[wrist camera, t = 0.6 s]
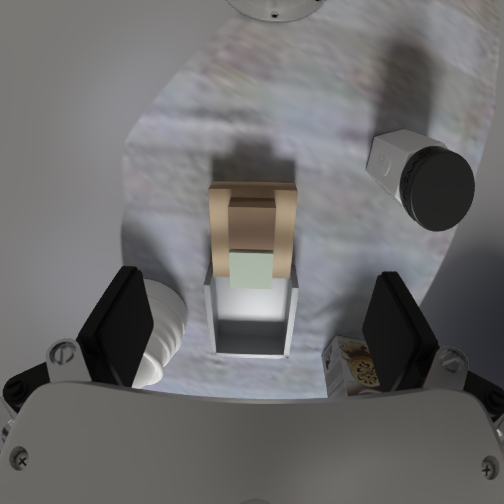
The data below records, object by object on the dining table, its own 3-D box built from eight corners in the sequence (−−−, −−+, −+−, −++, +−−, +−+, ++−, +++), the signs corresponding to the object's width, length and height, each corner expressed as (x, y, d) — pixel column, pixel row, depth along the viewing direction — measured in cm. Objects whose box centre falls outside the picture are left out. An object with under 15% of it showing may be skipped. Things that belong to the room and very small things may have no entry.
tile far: (231, 239, 36) (229, 252, 33) (272, 241, 36) (273, 253, 33) (232, 273, 38) (230, 288, 36) (270, 275, 38) (271, 289, 36)
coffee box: (377, 341, 49) (401, 414, 35) (360, 362, 52) (377, 432, 38) (335, 333, 48) (353, 414, 34) (319, 356, 51) (331, 433, 37)
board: (212, 181, 35) (208, 188, 33) (294, 183, 35) (297, 190, 32) (216, 264, 41) (213, 276, 39) (288, 266, 41) (289, 278, 39)
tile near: (230, 197, 33) (227, 207, 31) (274, 198, 33) (276, 208, 30) (231, 236, 36) (228, 248, 33) (273, 237, 36) (273, 250, 33)
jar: (375, 119, 30) (424, 135, 20) (429, 137, 31) (485, 162, 20) (359, 186, 35) (396, 228, 25) (411, 199, 35) (457, 242, 25)
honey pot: (152, 344, 51) (125, 426, 36) (103, 297, 46) (57, 377, 30) (204, 321, 47) (184, 417, 32) (151, 265, 42) (104, 358, 26)
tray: (209, 263, 41) (203, 285, 37) (295, 266, 41) (298, 288, 37) (215, 333, 48) (211, 355, 44) (286, 335, 48) (288, 358, 44)
